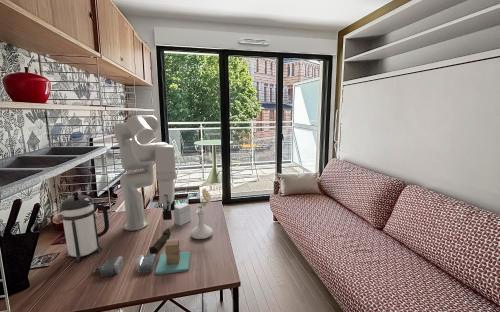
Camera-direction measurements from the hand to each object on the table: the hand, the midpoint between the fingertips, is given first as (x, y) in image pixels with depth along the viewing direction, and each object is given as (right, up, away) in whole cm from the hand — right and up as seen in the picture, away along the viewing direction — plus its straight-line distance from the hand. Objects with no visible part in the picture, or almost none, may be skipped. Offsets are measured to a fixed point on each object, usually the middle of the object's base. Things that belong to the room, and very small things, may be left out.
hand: (169, 214), depth 106 cm
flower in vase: (+9, -18, +28) cm, 34 cm away
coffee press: (-43, -21, +14) cm, 50 cm away
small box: (-6, -15, +44) cm, 46 cm away
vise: (-19, -23, +1) cm, 30 cm away
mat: (+1, -22, +4) cm, 22 cm away
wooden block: (+1, -21, +4) cm, 21 cm away
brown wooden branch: (-10, -20, +20) cm, 30 cm away
